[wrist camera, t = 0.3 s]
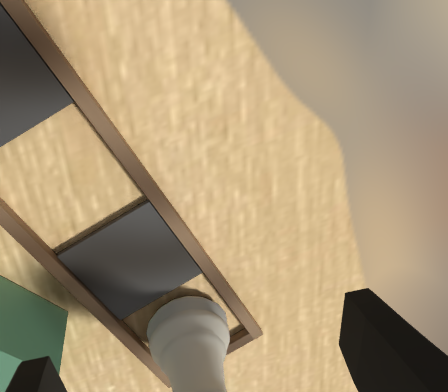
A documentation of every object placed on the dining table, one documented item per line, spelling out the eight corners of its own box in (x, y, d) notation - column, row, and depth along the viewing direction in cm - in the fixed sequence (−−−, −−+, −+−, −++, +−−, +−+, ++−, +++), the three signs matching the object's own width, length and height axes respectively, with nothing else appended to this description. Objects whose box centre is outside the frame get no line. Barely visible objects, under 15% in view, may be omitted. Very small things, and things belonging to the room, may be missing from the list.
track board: (260, 328, 25) (263, 334, 25) (167, 380, 25) (168, 387, 25) (-18, -57, 14) (-22, -58, 14) (-175, 44, 14) (-184, 47, 14)
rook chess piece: (223, 346, 25) (263, 488, 18) (146, 356, 24) (158, 510, 17) (228, 287, 23) (275, 421, 16) (144, 294, 22) (157, 441, 15)
